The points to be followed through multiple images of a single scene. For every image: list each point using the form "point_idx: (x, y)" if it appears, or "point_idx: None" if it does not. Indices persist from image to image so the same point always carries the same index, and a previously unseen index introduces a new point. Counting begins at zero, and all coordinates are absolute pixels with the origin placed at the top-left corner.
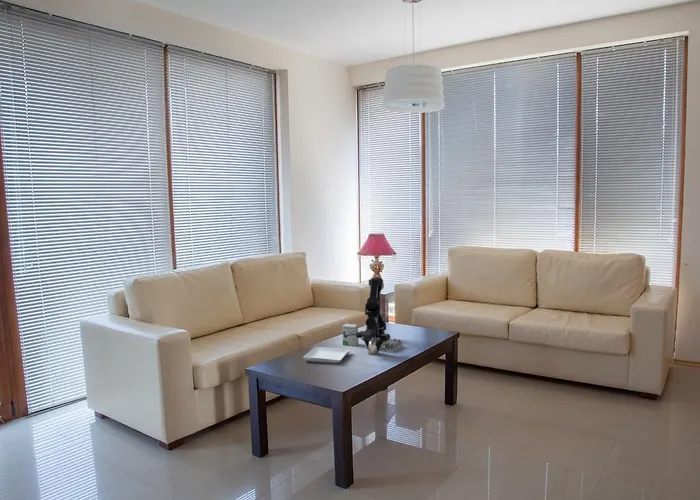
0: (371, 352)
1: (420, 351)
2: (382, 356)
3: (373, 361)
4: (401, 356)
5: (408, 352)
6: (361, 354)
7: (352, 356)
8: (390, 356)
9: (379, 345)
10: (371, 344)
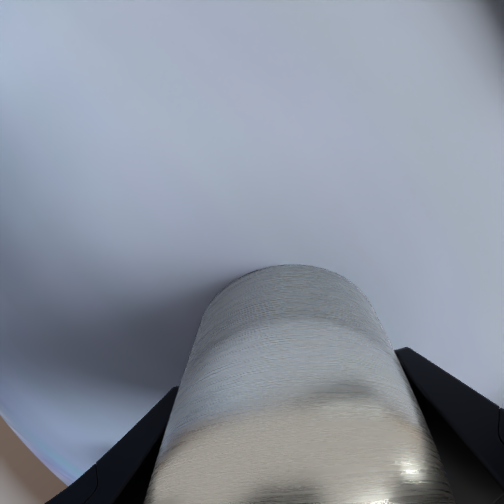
0: (260, 296)
1: (68, 485)
2: (72, 310)
3: (7, 35)
4: (6, 388)
5: (78, 470)
6: (451, 180)
7: (476, 3)
8: (33, 354)
9: (88, 488)
10: (238, 501)
